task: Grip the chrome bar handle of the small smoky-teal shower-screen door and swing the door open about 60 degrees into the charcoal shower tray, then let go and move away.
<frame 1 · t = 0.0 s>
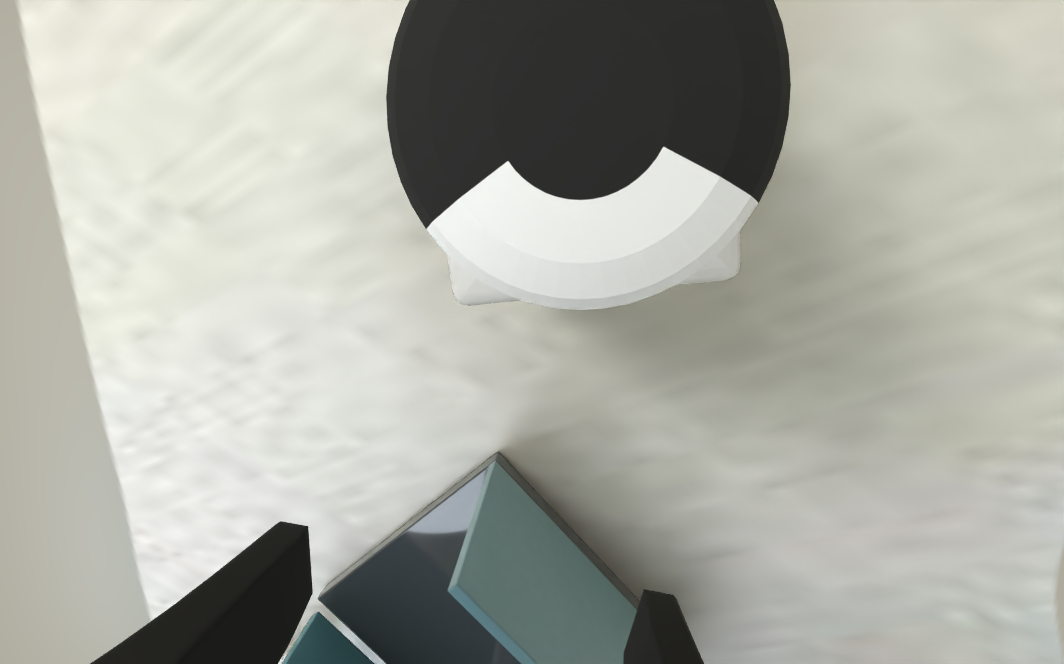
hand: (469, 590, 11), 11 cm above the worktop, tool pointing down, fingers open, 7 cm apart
medicine bottle: (579, 162, 19), on the worktop
shower cubicle: (497, 613, 24), on the worktop
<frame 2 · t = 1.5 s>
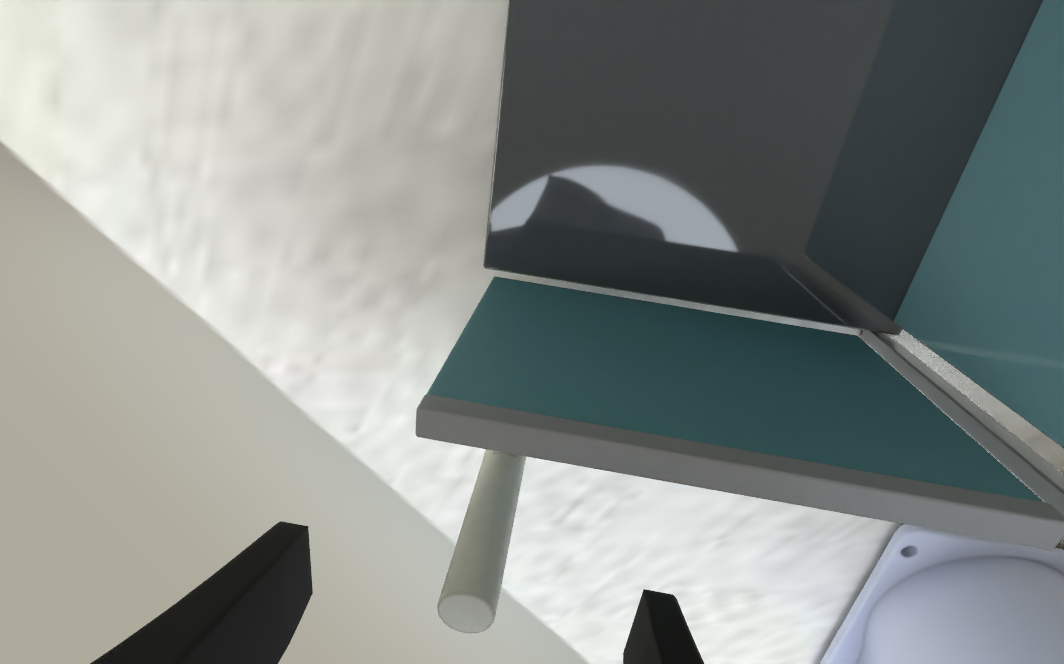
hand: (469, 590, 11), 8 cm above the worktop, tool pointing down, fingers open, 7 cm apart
shower door: (666, 457, 13), point 5 cm above the worktop, hinge at 0.0°
shower cubicle: (737, 93, 13), on the worktop
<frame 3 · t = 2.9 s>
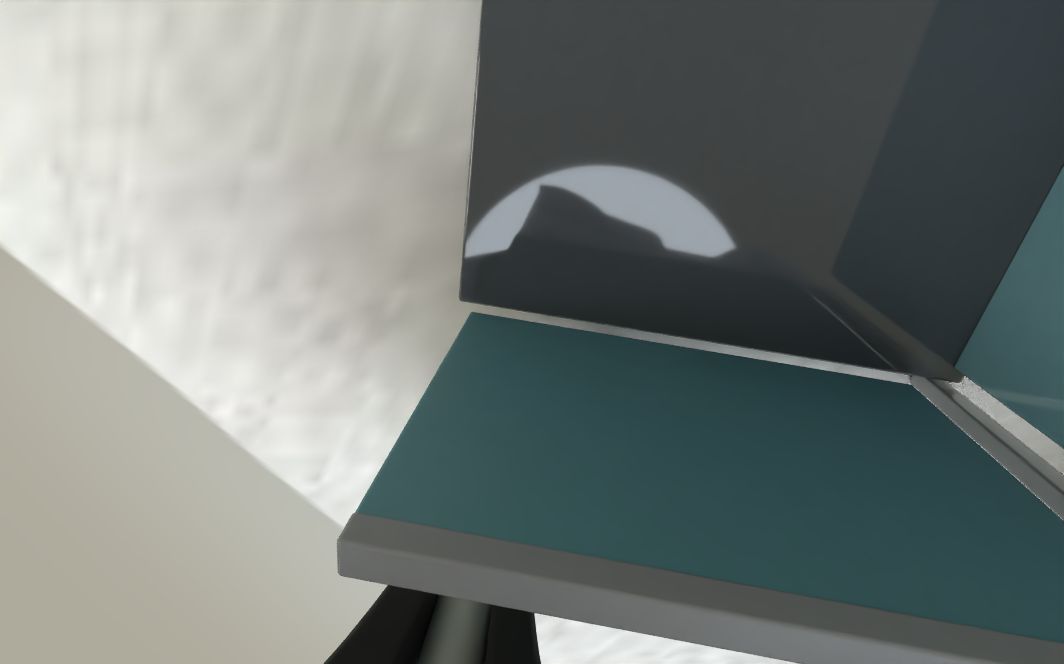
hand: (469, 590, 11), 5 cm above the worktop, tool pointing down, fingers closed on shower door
shower door: (682, 547, 10), point 5 cm above the worktop, hinge at 0.0°, touching gripper
shower cubicle: (768, 90, 11), on the worktop
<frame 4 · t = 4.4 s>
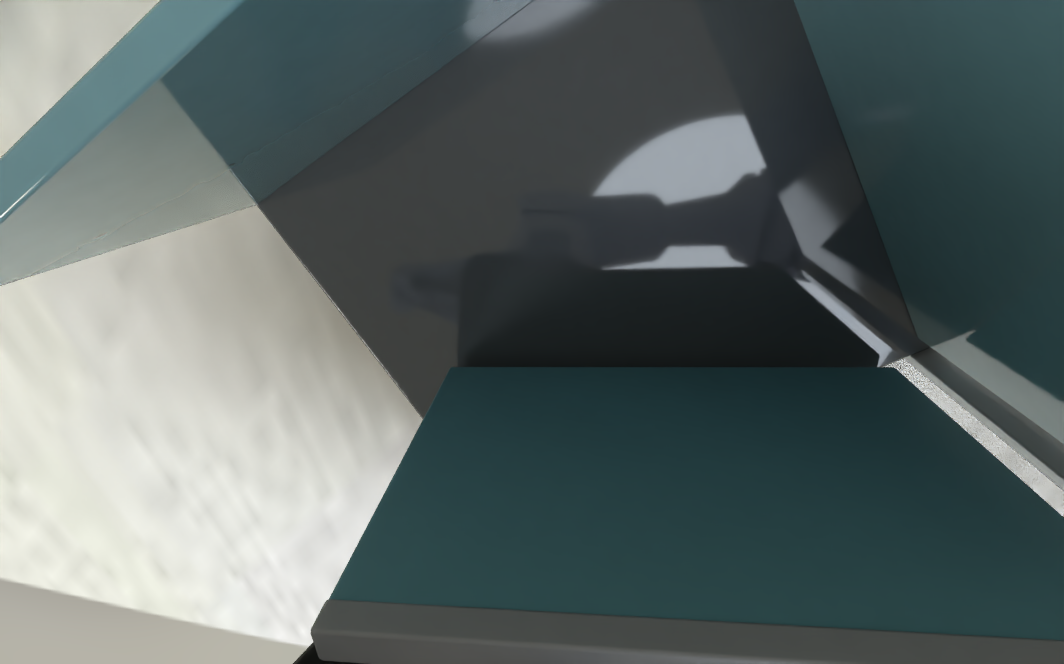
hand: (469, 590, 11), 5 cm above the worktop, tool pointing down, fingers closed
shower door: (677, 569, 10), point 5 cm above the worktop, hinge at 28.4°, touching gripper
shower cubicle: (589, 257, 13), on the worktop
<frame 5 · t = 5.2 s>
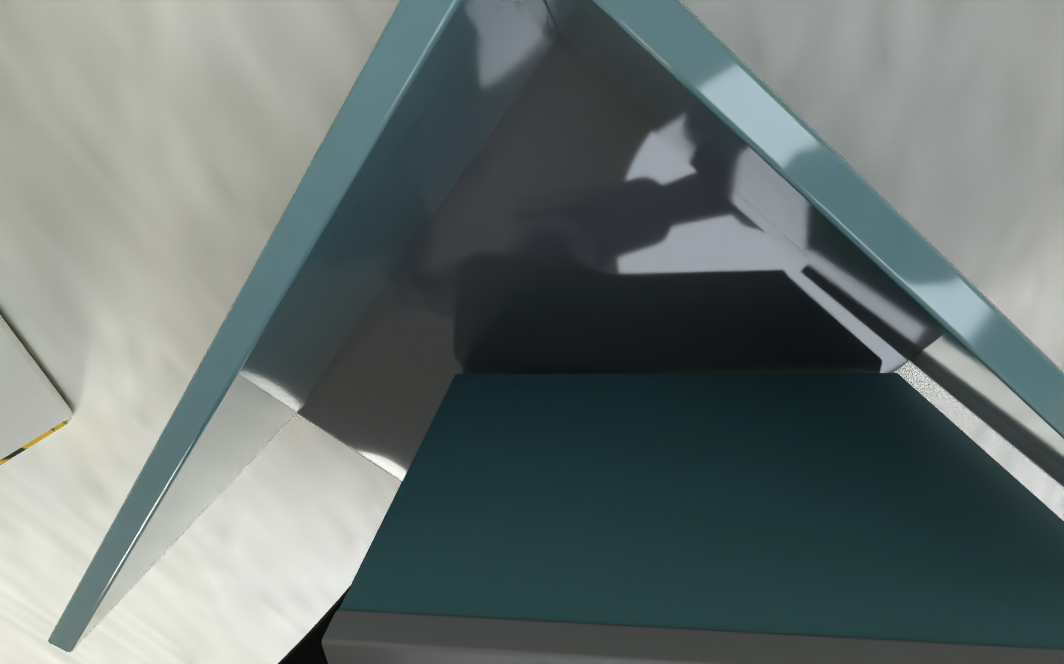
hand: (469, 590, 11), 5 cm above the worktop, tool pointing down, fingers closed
shower door: (682, 575, 10), point 5 cm above the worktop, hinge at 48.7°, touching gripper
shower cubicle: (576, 363, 14), on the worktop
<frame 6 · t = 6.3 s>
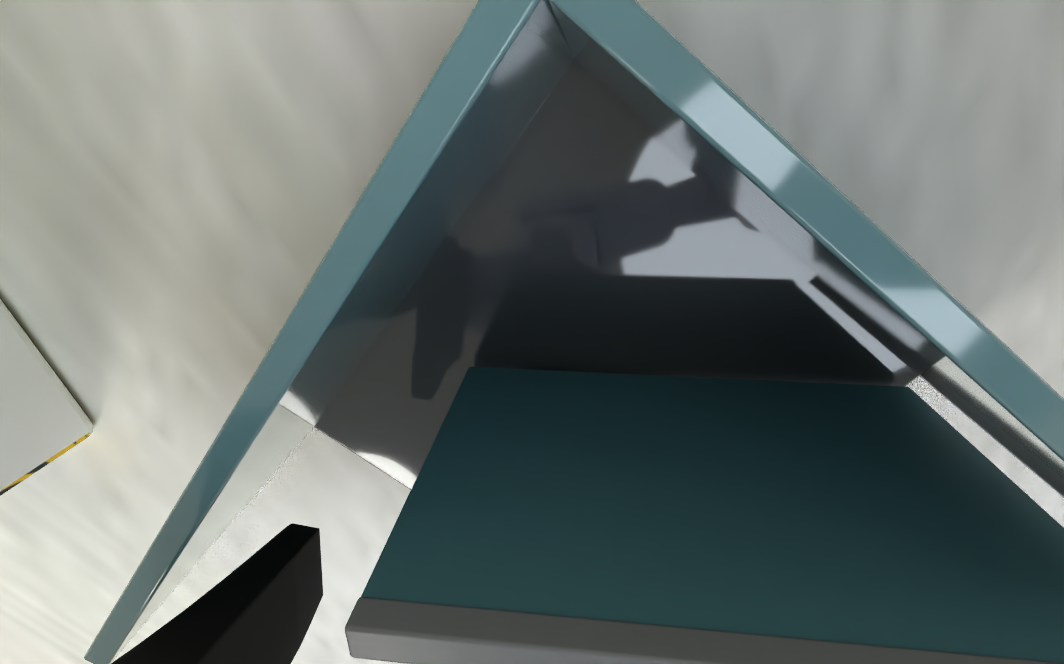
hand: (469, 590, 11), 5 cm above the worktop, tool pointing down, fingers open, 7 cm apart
shower door: (692, 577, 10), point 5 cm above the worktop, hinge at 52.1°
shower cubicle: (589, 377, 14), on the worktop
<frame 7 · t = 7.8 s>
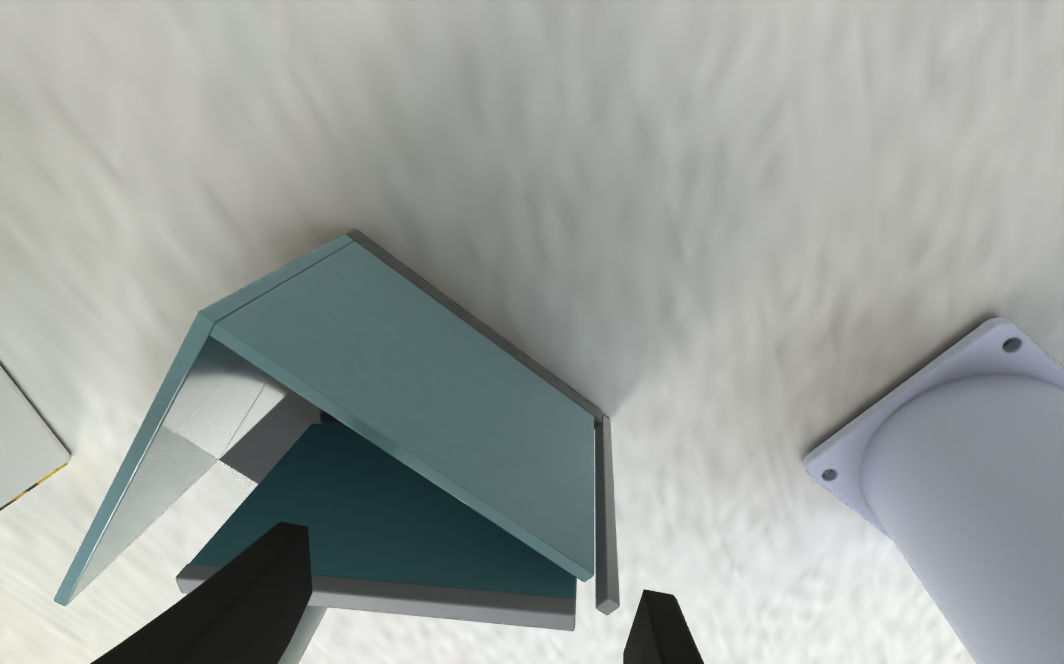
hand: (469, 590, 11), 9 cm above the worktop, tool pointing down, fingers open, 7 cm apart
shower door: (420, 558, 17), point 5 cm above the worktop, hinge at 52.1°
shower cubicle: (399, 428, 21), on the worktop
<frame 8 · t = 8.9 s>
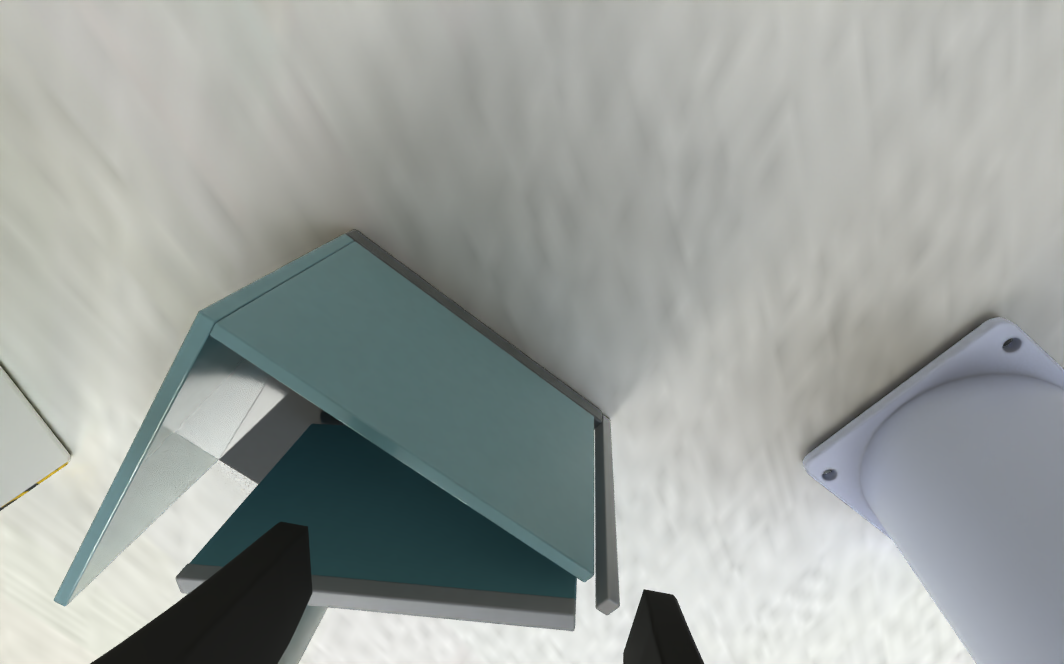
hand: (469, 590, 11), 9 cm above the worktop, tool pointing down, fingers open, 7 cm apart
shower door: (420, 558, 17), point 5 cm above the worktop, hinge at 52.1°
shower cubicle: (399, 428, 21), on the worktop
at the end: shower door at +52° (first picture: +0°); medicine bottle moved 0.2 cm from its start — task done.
